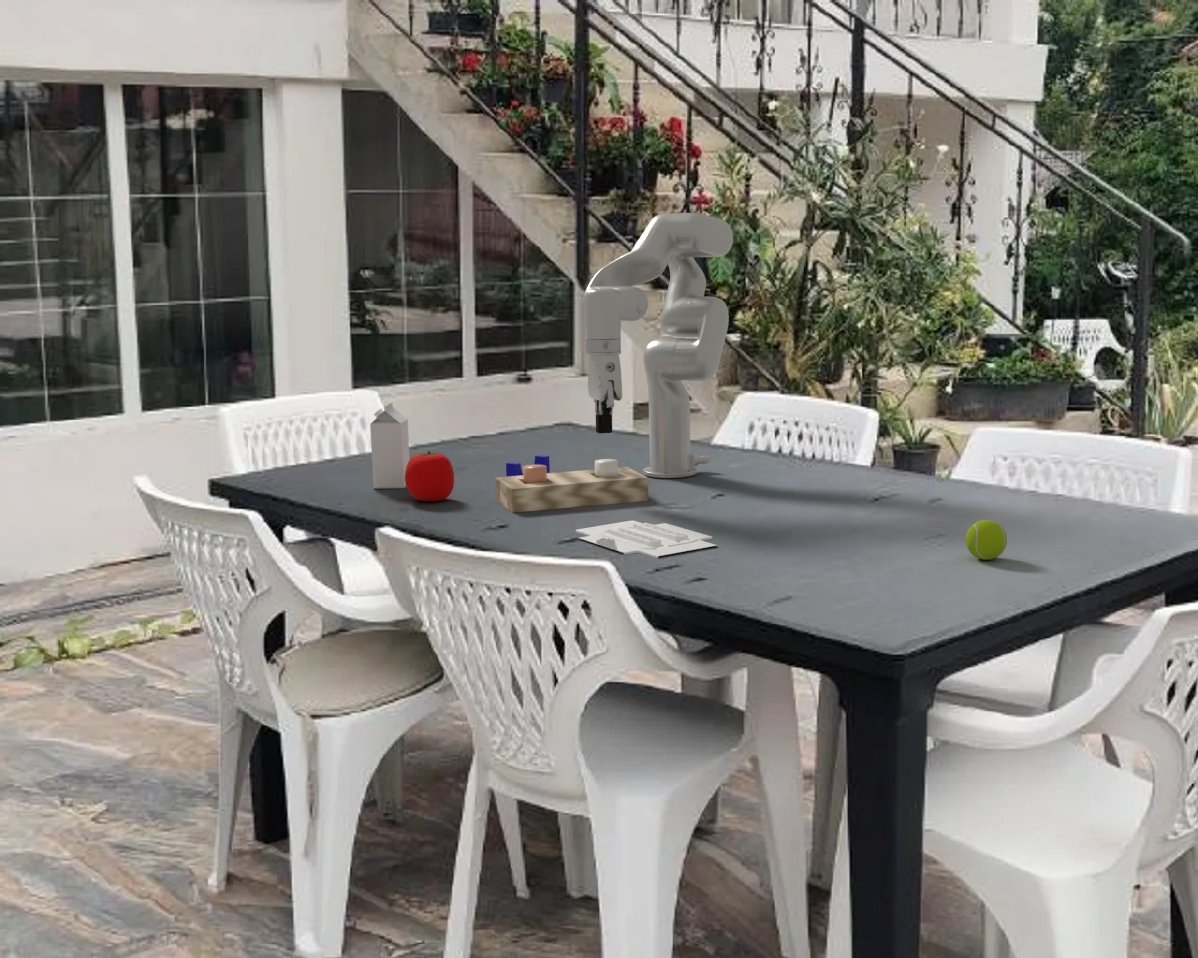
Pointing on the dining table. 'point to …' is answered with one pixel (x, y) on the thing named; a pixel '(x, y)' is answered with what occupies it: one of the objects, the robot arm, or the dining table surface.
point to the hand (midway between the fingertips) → (604, 432)
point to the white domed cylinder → (606, 468)
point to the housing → (571, 490)
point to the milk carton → (389, 448)
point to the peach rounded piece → (534, 474)
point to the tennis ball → (986, 539)
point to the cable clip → (515, 468)
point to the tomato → (429, 477)
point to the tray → (645, 538)
